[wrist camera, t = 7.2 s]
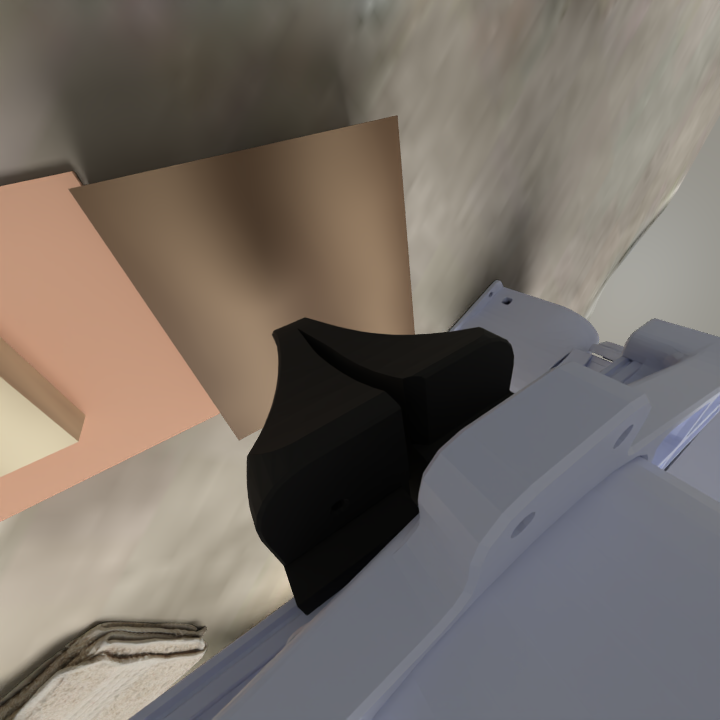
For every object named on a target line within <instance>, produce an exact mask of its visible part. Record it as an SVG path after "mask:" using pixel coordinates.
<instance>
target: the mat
mask: <svg viewBox="0 0 720 720" xmlns="http://www.w3.org/2000/svg"><path fill="white" fill-rule="evenodd" d="M79 186H83V185H82V183H81V182H80V180H79V178H78V177H77V175H76V174H75V172H74V171H71V172H67V173H62V174H57V175H52V176H47V177H42V178H38V179H33V180H28V181H23V182H18V183H14V184H9V185H4V186H0V337H1V338H2V339H3V340H4V341H5V342H6V343H7V344H8V345H10V346H11V347H12V348H13V349H14V350H15V351H16V352H17V353H18V354H19V355H20V356H22V357H23V358H24V359H25V360H26V361H27V362H28V363H29V364H30V365H31V366H32V367H33V368H35V369H36V370H37V371H38V372H39V373H40V374H41V375H42V376H43V377H44V378H45V379H47V380H48V381H49V382H50V383H51V384H52V385H53V386H54V387H55V388H56V389H57V390H58V391H60V392H61V393H62V394H63V395H64V396H65V397H66V398H67V399H68V400H69V401H70V402H72V403H73V404H74V405H75V406H76V407H77V408H78V409H79V410H80V411H81V412H82V413H83V414H85V415H86V416H85V420H84V423H83V427H82V431H81V434H80V438H79V442H77V443H75V444H72V445H70V446H68V447H66V448H64V449H61V450H59V451H57V452H55V453H53V454H50V455H48V456H46V457H44V458H42V459H39V460H37V461H35V462H33V463H31V464H28V465H26V466H24V467H22V468H19V469H17V470H15V471H13V472H11V473H8V474H6V475H4V476H2V477H0V522H1V521H3V520H5V519H7V518H9V517H11V516H13V515H15V514H17V513H19V512H21V511H23V510H25V509H27V508H29V507H31V506H33V505H35V504H37V503H39V502H41V501H43V500H45V499H47V498H49V497H51V496H53V495H56V494H58V493H60V492H62V491H64V490H66V489H68V488H70V487H72V486H74V485H76V484H78V483H80V482H82V481H84V480H86V479H88V478H90V477H92V476H94V475H96V474H98V473H100V472H102V471H104V470H106V469H108V468H110V467H112V466H114V465H116V464H118V463H120V462H122V461H124V460H126V459H128V458H130V457H132V456H135V455H137V454H139V453H141V452H143V451H145V450H147V449H149V448H151V447H153V446H155V445H157V444H159V443H161V442H163V441H165V440H167V439H169V438H171V437H173V436H175V435H177V434H179V433H181V432H183V431H185V430H187V429H189V428H191V427H193V426H195V425H197V424H199V423H201V422H203V421H205V420H207V419H209V418H211V417H214V416H216V415H218V414H220V412H219V410H218V409H217V407H216V406H215V404H214V403H213V401H212V400H211V398H210V397H209V395H208V394H207V393H206V391H205V390H204V388H203V387H202V385H201V384H200V382H199V381H198V379H197V378H196V376H195V375H194V373H193V372H192V370H191V369H190V368H189V366H188V365H187V363H186V362H185V360H184V359H183V357H182V356H181V354H180V353H179V351H178V350H177V348H176V347H175V345H174V344H173V343H172V341H171V340H170V338H169V337H168V335H167V334H166V332H165V331H164V329H163V328H162V326H161V325H160V323H159V322H158V320H157V319H156V318H155V316H154V315H153V313H152V312H151V310H150V309H149V307H148V306H147V304H146V303H145V301H144V300H143V298H142V297H141V295H140V294H139V293H138V291H137V290H136V288H135V287H134V285H133V284H132V282H131V281H130V279H129V278H128V276H127V275H126V273H125V272H124V270H123V269H122V268H121V266H120V265H119V263H118V262H117V260H116V259H115V257H114V256H113V254H112V253H111V251H110V250H109V248H108V247H107V245H106V244H105V243H104V241H103V240H102V238H101V237H100V235H99V234H98V232H97V231H96V229H95V228H94V226H93V225H92V223H91V222H90V220H89V219H88V218H87V216H86V215H85V213H84V212H83V210H82V209H81V207H80V206H79V204H78V203H77V201H76V200H75V198H74V197H73V195H72V194H71V192H70V191H69V190H68V189H70V188H75V187H79Z"/></svg>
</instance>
